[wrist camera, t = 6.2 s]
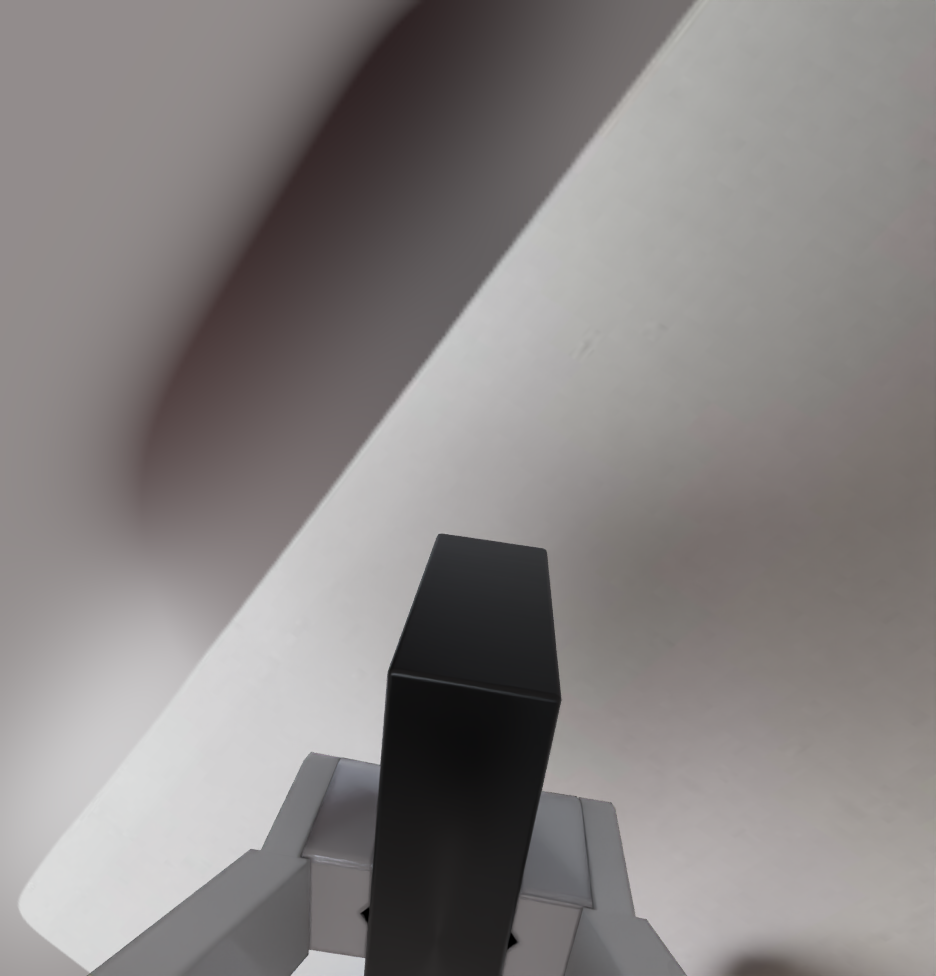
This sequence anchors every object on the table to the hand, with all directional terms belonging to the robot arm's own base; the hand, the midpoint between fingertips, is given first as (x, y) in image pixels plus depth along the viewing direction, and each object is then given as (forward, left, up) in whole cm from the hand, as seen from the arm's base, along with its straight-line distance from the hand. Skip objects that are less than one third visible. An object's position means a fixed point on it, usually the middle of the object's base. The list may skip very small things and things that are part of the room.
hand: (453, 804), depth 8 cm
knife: (+5, -1, -2) cm, 6 cm away
